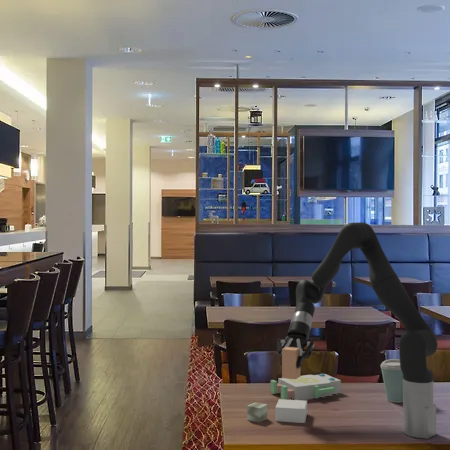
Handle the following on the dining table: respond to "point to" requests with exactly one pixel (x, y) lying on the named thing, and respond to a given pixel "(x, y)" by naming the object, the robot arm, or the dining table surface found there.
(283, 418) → the grey base block
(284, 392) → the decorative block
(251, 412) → the sage cube
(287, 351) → the terracotta block
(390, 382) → the disposable coffee cup
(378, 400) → the dining table surface
